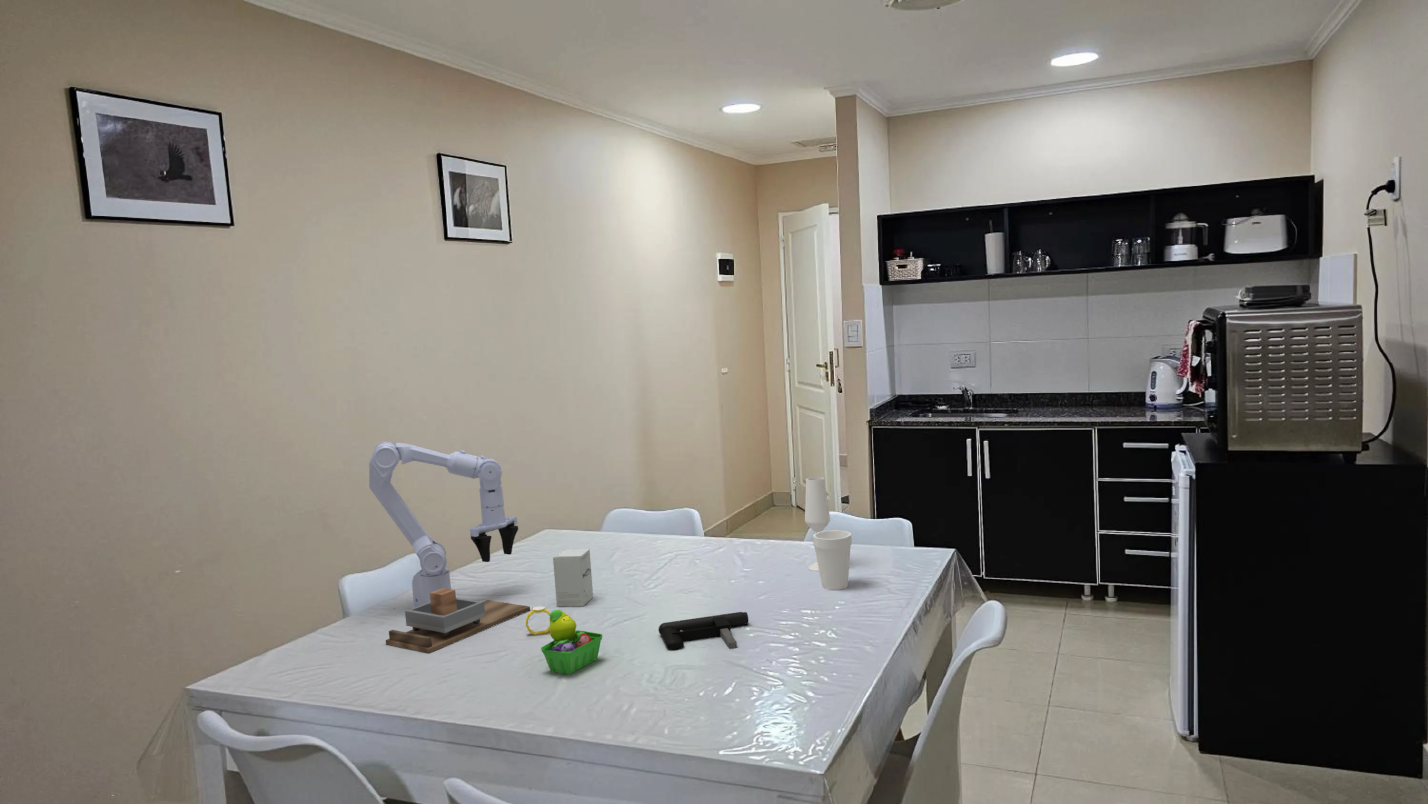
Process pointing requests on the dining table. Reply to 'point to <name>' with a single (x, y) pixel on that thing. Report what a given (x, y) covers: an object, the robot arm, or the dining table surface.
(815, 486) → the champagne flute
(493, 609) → the board
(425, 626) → the tray
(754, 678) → the dining table surface
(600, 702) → the dining table surface
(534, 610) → the watch
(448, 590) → the part block
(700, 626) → the door handle
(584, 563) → the supplement box
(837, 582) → the foam cup
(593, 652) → the fruit basket
